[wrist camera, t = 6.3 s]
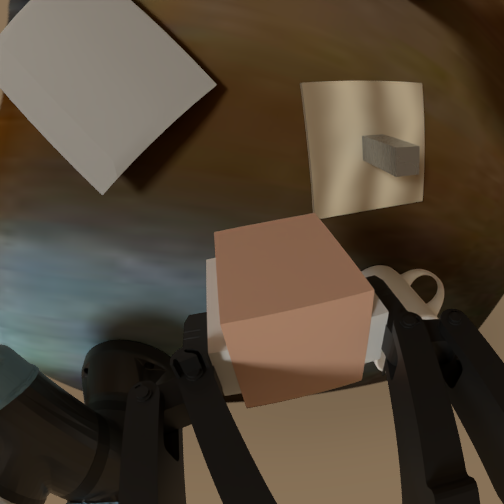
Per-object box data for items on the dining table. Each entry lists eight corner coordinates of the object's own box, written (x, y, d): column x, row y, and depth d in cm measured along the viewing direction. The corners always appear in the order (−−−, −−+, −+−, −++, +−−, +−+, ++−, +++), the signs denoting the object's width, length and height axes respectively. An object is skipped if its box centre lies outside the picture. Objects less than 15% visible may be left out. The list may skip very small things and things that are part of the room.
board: (313, 217, 32) (315, 219, 32) (299, 83, 26) (301, 82, 25) (419, 199, 33) (422, 201, 33) (418, 83, 26) (422, 83, 26)
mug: (423, 275, 39) (466, 322, 30) (356, 326, 41) (388, 382, 32) (405, 233, 35) (457, 279, 26) (329, 291, 37) (364, 352, 28)
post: (360, 159, 30) (396, 177, 24) (359, 134, 29) (396, 147, 22) (381, 156, 30) (419, 174, 24) (380, 133, 29) (419, 146, 23)
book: (112, 203, 29) (101, 217, 26) (-13, 70, 19) (-34, 71, 15) (225, 95, 26) (228, 94, 22) (82, -39, 16) (68, -52, 12)
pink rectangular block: (233, 311, 18) (246, 408, 12) (214, 232, 15) (220, 324, 10) (318, 292, 18) (361, 380, 12) (314, 212, 16) (374, 289, 10)
